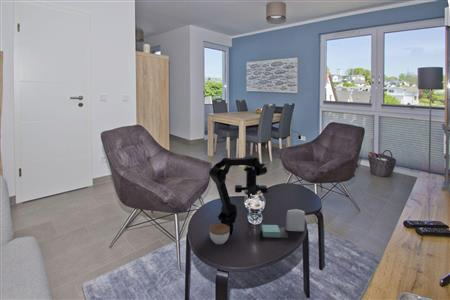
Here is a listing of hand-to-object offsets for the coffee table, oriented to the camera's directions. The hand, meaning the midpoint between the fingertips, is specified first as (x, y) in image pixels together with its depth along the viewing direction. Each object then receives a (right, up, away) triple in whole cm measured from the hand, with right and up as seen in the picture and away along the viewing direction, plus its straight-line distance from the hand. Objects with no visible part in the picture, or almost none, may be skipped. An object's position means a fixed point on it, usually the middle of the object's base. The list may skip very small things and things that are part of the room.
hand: (250, 202), depth 176 cm
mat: (+13, -15, -10) cm, 22 cm away
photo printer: (+25, -15, -6) cm, 29 cm away
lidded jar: (-18, -17, -19) cm, 31 cm away
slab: (+6, -14, -11) cm, 19 cm away
